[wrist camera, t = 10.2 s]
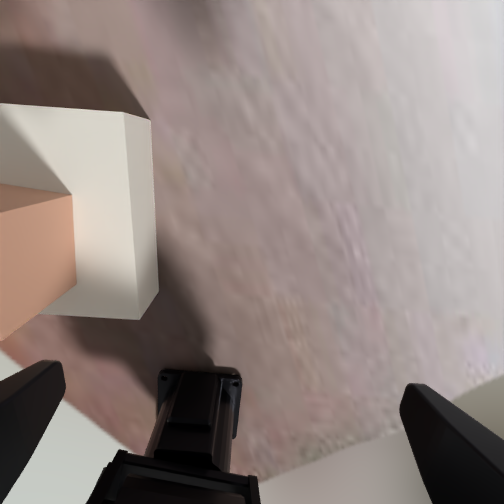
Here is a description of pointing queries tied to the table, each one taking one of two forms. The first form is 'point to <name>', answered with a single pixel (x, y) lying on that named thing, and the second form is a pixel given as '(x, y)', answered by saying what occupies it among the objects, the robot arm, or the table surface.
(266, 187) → the table surface
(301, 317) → the table surface
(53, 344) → the table surface
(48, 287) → the terracotta block
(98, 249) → the cream box
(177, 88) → the table surface
